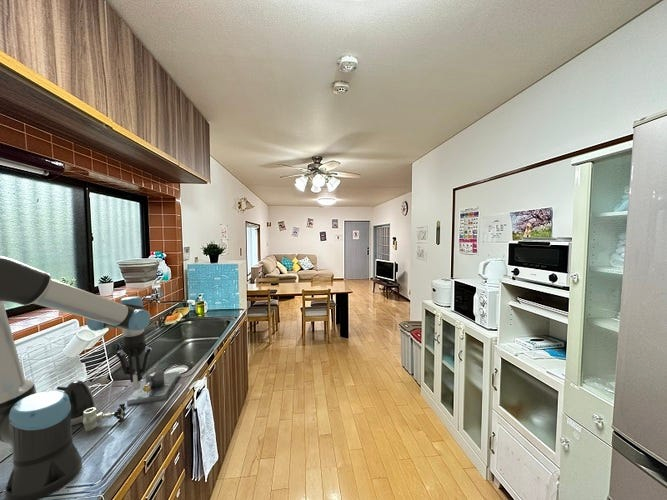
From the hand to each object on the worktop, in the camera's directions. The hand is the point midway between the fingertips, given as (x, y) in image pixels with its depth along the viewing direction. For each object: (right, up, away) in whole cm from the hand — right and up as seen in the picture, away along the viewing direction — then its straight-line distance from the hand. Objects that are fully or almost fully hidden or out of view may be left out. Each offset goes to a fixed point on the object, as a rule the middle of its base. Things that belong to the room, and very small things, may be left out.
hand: (136, 388), depth 120 cm
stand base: (+2, -5, +9) cm, 10 cm away
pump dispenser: (-14, -6, -13) cm, 20 cm away
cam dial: (+3, -2, +5) cm, 7 cm away
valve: (-1, -6, -16) cm, 17 cm away
